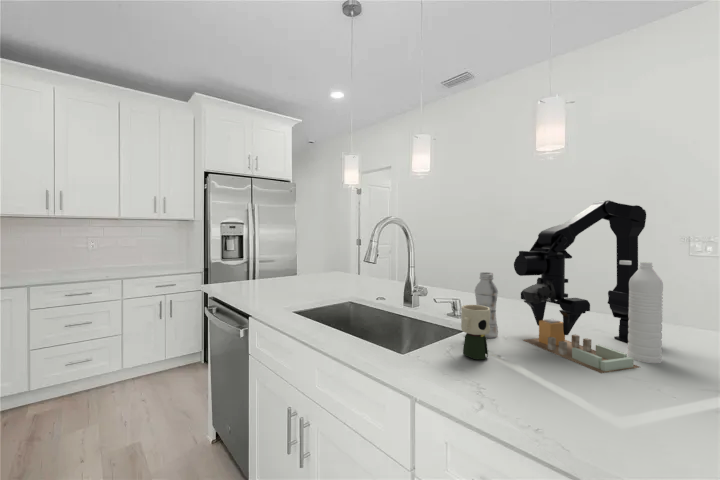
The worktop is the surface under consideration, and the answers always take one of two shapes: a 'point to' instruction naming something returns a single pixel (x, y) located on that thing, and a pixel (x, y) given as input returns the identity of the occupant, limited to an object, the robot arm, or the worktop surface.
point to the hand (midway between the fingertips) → (552, 330)
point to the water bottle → (645, 314)
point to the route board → (566, 350)
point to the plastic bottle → (488, 300)
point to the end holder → (615, 357)
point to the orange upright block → (551, 330)
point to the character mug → (475, 330)
